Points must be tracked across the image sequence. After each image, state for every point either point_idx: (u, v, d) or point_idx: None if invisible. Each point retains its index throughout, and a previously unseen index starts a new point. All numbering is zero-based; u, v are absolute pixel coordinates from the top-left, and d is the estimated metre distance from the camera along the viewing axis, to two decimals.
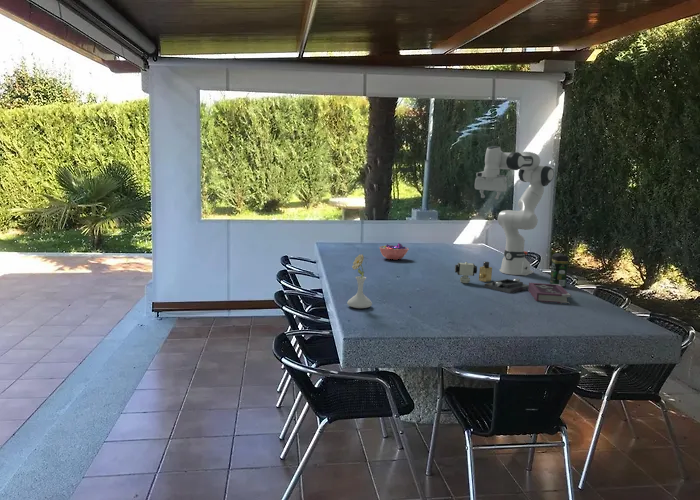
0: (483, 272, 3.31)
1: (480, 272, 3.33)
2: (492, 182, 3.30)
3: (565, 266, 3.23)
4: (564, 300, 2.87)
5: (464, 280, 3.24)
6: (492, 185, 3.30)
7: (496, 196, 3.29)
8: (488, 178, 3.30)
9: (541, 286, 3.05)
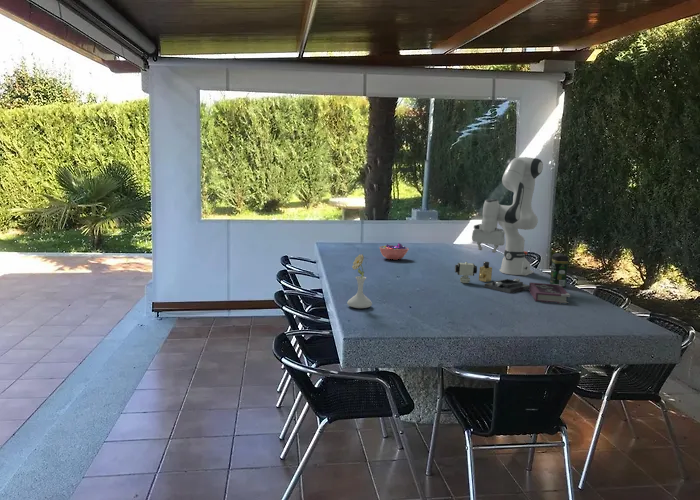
0: (483, 272, 3.31)
1: (480, 272, 3.33)
2: (490, 235, 3.27)
3: (565, 266, 3.23)
4: (563, 300, 2.87)
5: (464, 280, 3.24)
6: (489, 239, 3.27)
7: (493, 249, 3.27)
8: (486, 231, 3.27)
9: (541, 286, 3.05)
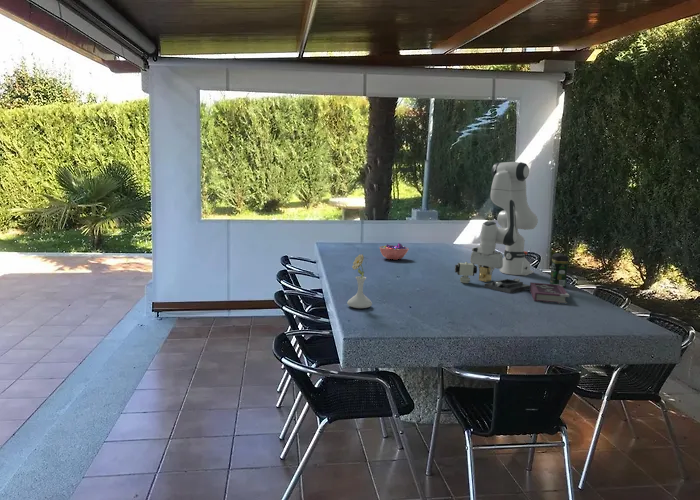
0: (483, 272, 3.31)
1: (480, 272, 3.33)
2: (488, 258, 3.29)
3: (565, 266, 3.23)
4: (562, 300, 2.87)
5: (464, 280, 3.24)
6: (488, 261, 3.29)
7: (490, 272, 3.30)
8: (484, 254, 3.29)
9: (542, 286, 3.05)
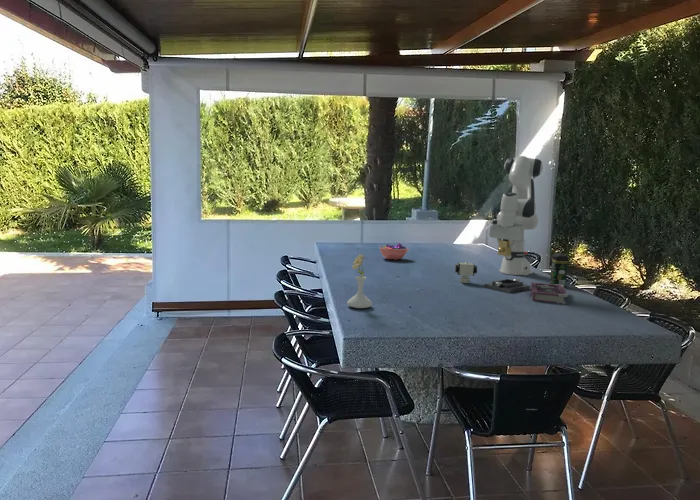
0: (503, 245, 3.14)
1: (499, 246, 3.16)
2: (508, 231, 3.12)
3: (565, 266, 3.23)
4: (561, 300, 2.87)
5: (464, 280, 3.24)
6: (508, 234, 3.12)
7: (510, 245, 3.13)
8: (504, 226, 3.12)
9: (542, 286, 3.05)
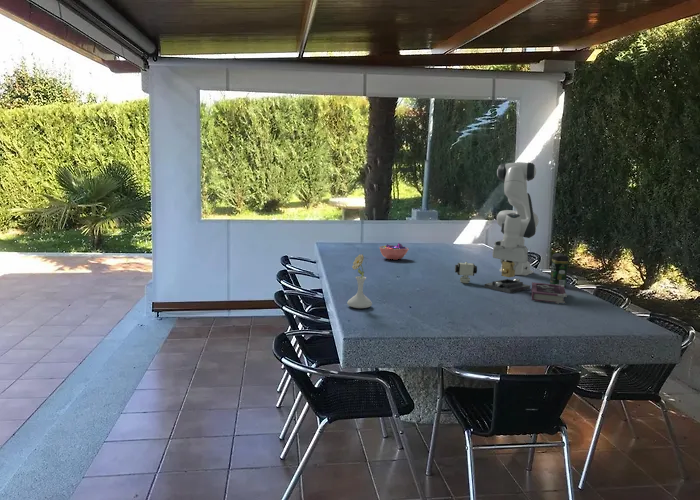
0: (506, 267, 3.12)
1: (503, 267, 3.14)
2: (512, 252, 3.10)
3: (565, 266, 3.23)
4: (560, 300, 2.87)
5: (464, 280, 3.24)
6: (511, 256, 3.10)
7: (513, 267, 3.11)
8: (507, 248, 3.10)
9: (543, 286, 3.05)
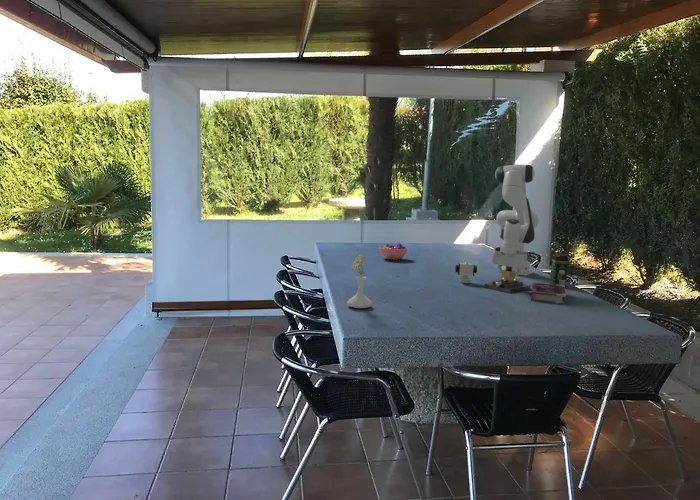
0: (506, 275, 3.13)
1: (502, 275, 3.15)
2: (511, 258, 3.11)
3: (565, 266, 3.23)
4: (559, 300, 2.87)
5: (464, 280, 3.24)
6: (511, 262, 3.11)
7: (516, 273, 3.10)
8: (507, 254, 3.11)
9: (543, 286, 3.05)
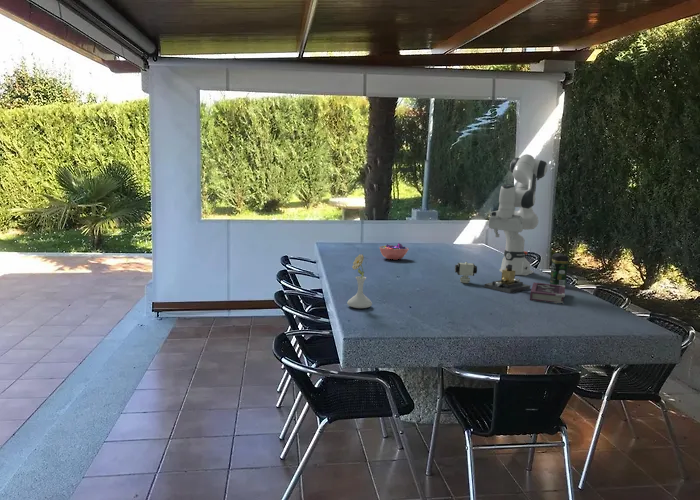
0: (506, 275, 3.13)
1: (502, 275, 3.15)
2: (507, 222, 3.19)
3: (565, 266, 3.23)
4: (558, 300, 2.87)
5: (464, 280, 3.24)
6: (507, 226, 3.19)
7: (511, 237, 3.19)
8: (503, 218, 3.19)
9: (543, 286, 3.05)
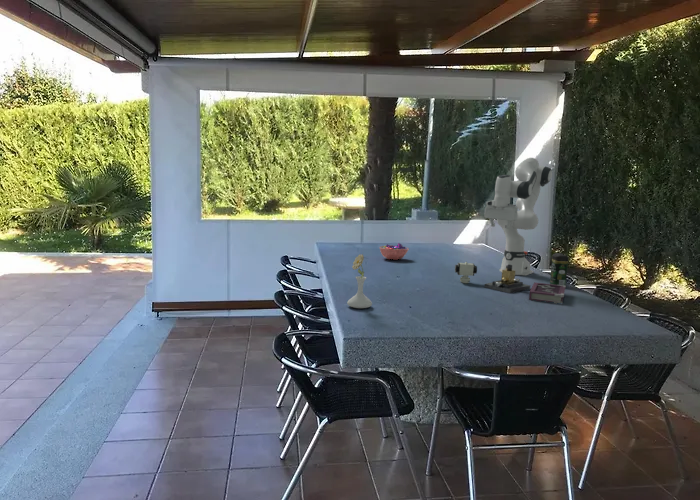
0: (506, 275, 3.13)
1: (502, 275, 3.15)
2: (502, 211, 3.27)
3: (565, 266, 3.23)
4: (557, 300, 2.87)
5: (464, 280, 3.24)
6: (502, 214, 3.27)
7: (506, 225, 3.26)
8: (498, 207, 3.27)
9: (544, 286, 3.05)
